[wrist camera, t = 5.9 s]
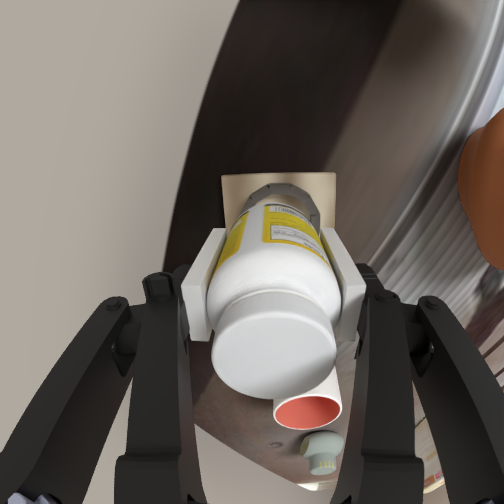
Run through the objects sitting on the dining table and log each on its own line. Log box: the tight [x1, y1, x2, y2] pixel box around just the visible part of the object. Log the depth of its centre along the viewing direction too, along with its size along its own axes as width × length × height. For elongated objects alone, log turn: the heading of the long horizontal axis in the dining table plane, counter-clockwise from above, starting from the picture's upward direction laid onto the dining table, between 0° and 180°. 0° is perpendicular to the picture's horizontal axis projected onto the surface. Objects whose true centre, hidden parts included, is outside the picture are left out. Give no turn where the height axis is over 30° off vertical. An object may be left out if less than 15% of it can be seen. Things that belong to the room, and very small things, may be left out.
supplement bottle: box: [206, 202, 341, 399], centre depth 13 cm, size 5×5×10 cm
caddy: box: [221, 172, 336, 239], centre depth 35 cm, size 13×22×2 cm, turn 3°
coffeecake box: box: [415, 418, 445, 493], centre depth 45 cm, size 15×7×20 cm, turn 168°
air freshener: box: [300, 431, 344, 475], centre depth 50 cm, size 11×8×10 cm
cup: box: [273, 366, 342, 430], centre depth 40 cm, size 10×10×10 cm
